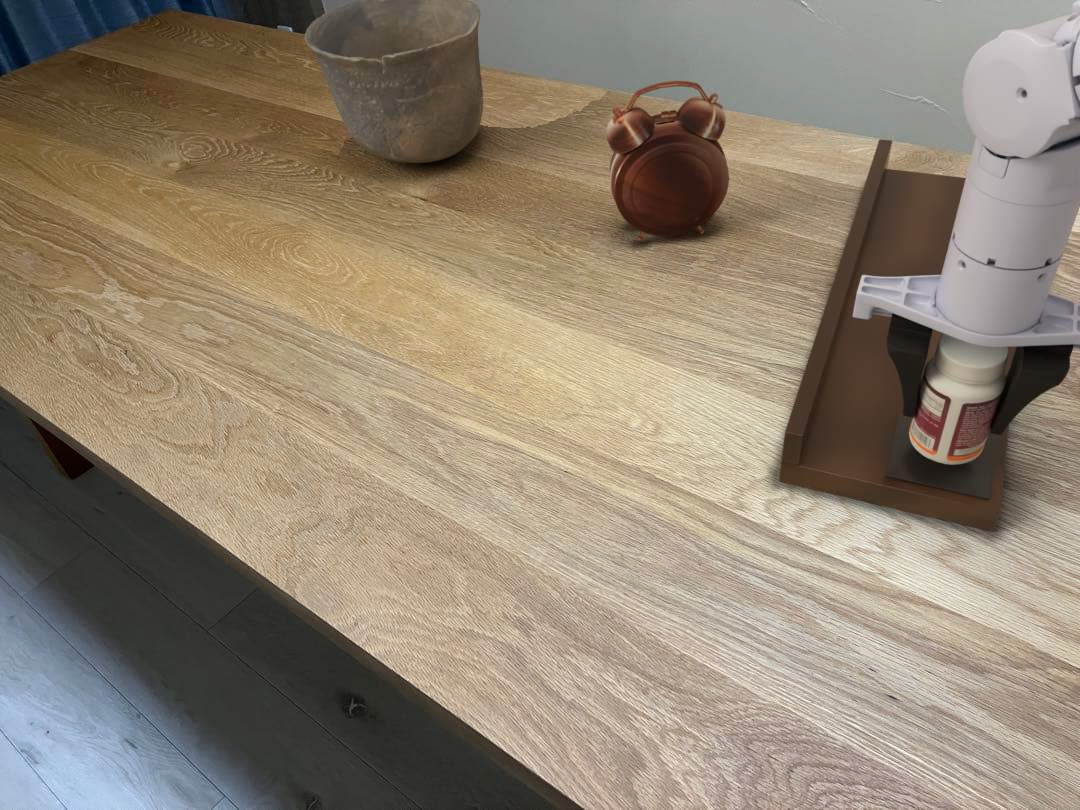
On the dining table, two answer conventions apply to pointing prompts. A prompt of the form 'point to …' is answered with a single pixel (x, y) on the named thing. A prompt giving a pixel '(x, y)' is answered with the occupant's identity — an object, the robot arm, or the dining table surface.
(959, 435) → the pill bottle
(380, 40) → the bowl
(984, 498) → the shelf
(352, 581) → the dining table surface
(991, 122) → the robot arm
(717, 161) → the alarm clock
